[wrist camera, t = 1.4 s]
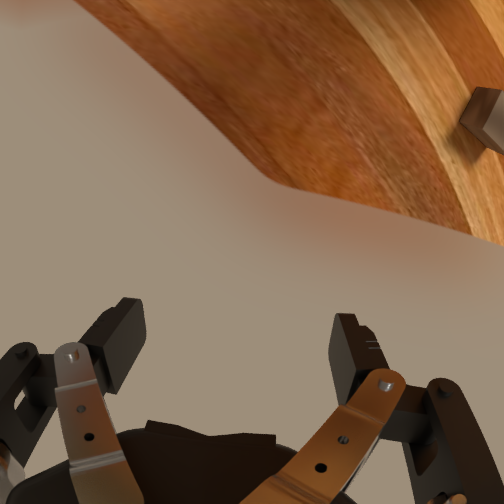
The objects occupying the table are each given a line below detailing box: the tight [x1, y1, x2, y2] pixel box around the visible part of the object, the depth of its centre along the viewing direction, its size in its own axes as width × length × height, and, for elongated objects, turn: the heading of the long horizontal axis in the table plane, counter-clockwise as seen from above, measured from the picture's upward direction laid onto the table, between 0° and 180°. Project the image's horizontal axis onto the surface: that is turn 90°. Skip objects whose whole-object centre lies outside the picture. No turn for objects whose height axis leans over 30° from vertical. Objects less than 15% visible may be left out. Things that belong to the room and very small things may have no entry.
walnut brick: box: [459, 87, 504, 155], centre depth 23 cm, size 5×5×5 cm
